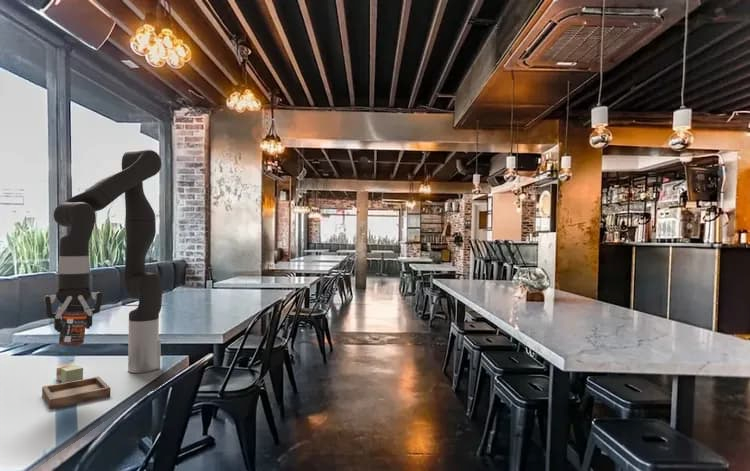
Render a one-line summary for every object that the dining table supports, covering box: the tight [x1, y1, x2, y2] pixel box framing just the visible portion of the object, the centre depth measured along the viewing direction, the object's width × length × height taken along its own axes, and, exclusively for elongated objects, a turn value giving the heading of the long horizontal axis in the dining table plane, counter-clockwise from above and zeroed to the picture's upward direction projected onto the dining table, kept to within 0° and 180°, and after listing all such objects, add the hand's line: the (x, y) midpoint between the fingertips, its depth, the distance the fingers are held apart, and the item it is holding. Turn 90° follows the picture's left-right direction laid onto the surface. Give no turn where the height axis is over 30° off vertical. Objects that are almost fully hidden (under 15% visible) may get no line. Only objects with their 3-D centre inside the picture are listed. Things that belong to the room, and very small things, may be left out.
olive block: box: [60, 364, 84, 383], centre depth 139 cm, size 4×4×4 cm
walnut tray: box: [41, 376, 111, 410], centre depth 127 cm, size 14×14×2 cm
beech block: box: [55, 362, 77, 381], centre depth 144 cm, size 5×4×4 cm
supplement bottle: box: [58, 305, 87, 347], centre depth 128 cm, size 6×6×11 cm
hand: (73, 329), depth 128 cm, fingers closed on supplement bottle, 6 cm apart
